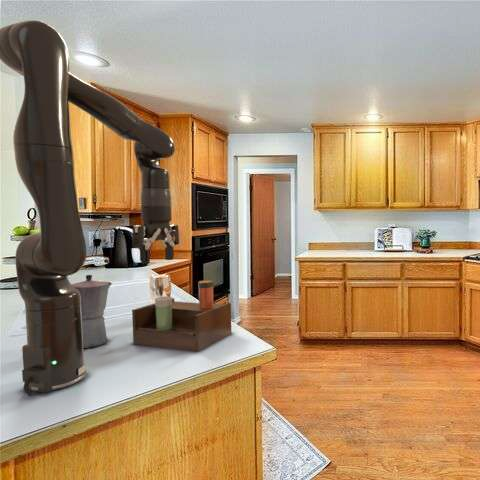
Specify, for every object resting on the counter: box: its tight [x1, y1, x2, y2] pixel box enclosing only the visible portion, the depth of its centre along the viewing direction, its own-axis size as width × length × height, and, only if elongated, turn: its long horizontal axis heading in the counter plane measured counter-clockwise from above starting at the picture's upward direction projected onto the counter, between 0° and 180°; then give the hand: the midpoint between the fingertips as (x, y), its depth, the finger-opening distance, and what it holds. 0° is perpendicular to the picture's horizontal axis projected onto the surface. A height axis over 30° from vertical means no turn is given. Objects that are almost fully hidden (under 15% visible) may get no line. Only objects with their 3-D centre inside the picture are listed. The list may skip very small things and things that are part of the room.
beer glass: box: [148, 274, 172, 304], centre depth 129 cm, size 7×7×15 cm
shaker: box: [155, 296, 173, 330], centre depth 103 cm, size 4×4×9 cm
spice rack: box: [131, 297, 232, 352], centre depth 106 cm, size 15×22×10 cm
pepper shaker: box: [197, 279, 214, 309], centre depth 108 cm, size 4×4×8 cm
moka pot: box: [71, 274, 113, 349], centre depth 100 cm, size 10×15×20 cm, turn 164°
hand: (157, 261), depth 101 cm, fingers open, 8 cm apart
